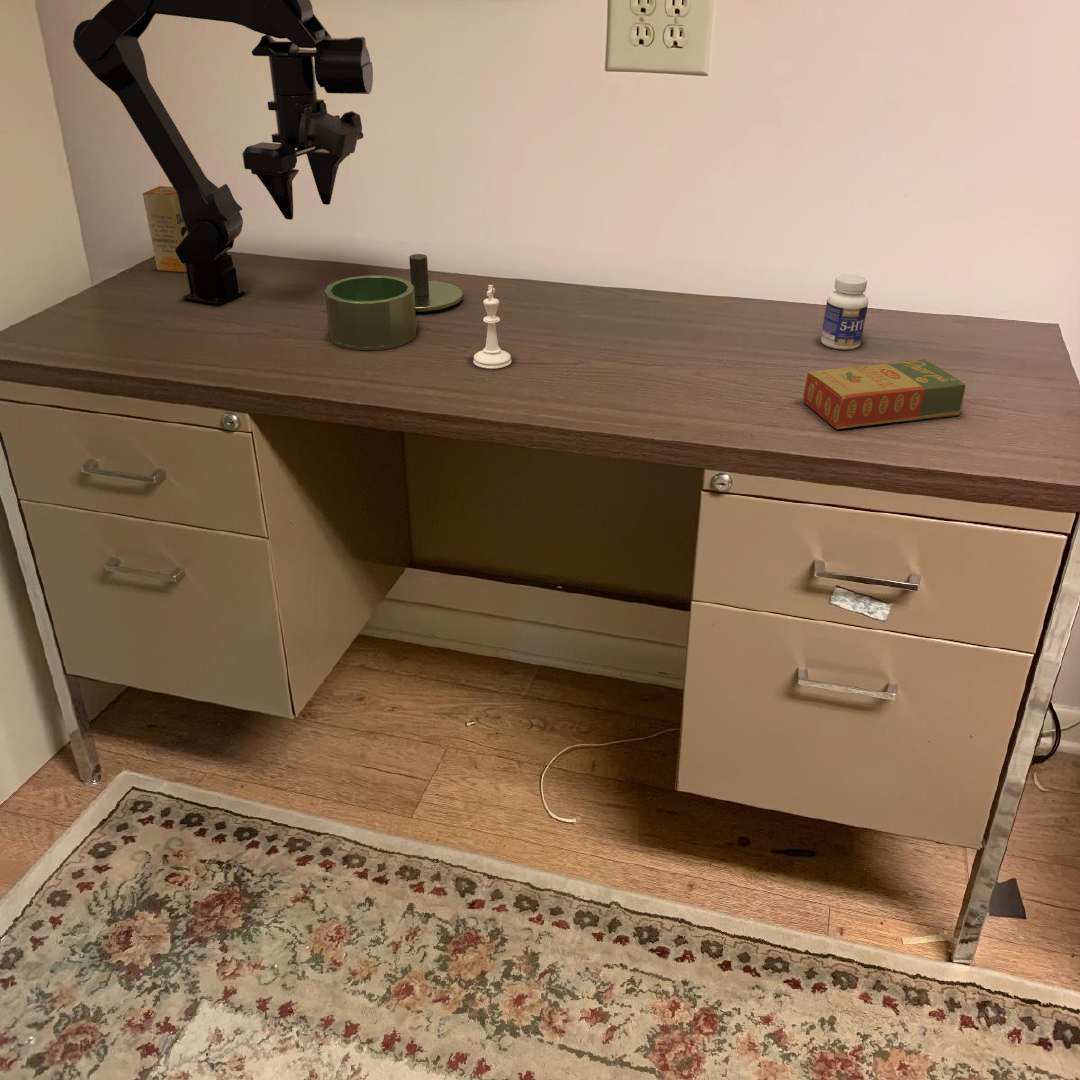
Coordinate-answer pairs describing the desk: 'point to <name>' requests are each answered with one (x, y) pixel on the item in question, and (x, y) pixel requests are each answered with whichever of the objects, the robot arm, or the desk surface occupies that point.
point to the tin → (371, 312)
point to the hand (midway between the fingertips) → (308, 211)
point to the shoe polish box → (165, 227)
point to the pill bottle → (845, 313)
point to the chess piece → (491, 338)
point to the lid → (430, 287)
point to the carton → (883, 393)
